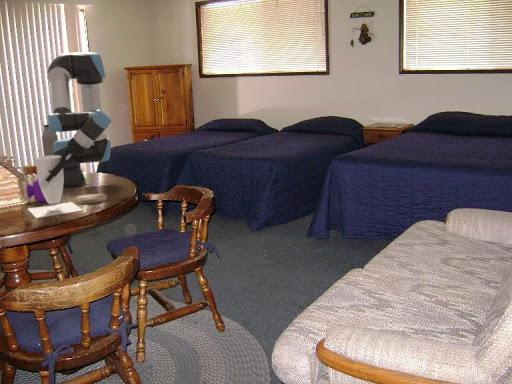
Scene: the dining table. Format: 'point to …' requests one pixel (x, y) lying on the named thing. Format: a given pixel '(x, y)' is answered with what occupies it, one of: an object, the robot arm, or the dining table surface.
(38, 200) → the toy camera
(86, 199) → the coaster
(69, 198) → the dining table surface
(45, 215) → the board
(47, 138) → the thermos bottle
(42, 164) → the cup
